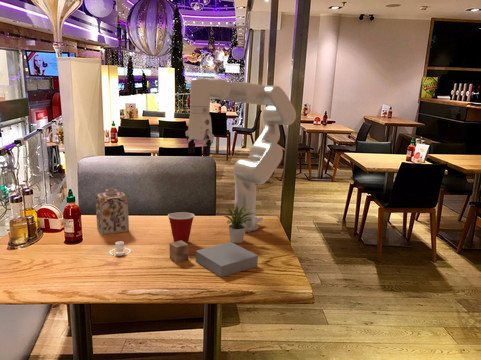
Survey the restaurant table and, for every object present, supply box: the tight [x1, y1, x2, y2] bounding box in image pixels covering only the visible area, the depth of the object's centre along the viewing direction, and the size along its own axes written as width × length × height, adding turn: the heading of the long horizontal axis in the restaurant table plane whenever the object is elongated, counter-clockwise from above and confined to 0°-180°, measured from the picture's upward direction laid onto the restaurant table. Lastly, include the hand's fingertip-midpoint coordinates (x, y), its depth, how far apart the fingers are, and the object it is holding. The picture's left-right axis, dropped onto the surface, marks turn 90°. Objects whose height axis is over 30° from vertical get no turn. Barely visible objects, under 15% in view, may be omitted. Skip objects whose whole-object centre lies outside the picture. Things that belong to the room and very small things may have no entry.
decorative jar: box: [95, 188, 130, 236], centre depth 176 cm, size 12×12×18 cm
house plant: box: [223, 202, 256, 244], centre depth 166 cm, size 14×14×16 cm
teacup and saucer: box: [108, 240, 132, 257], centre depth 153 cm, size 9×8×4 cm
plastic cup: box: [167, 211, 196, 245], centre depth 164 cm, size 11×11×12 cm
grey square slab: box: [194, 241, 259, 278], centre depth 146 cm, size 16×16×4 cm
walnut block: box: [169, 240, 189, 264], centre depth 149 cm, size 5×5×6 cm
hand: (198, 154), depth 162 cm, fingers open, 9 cm apart
